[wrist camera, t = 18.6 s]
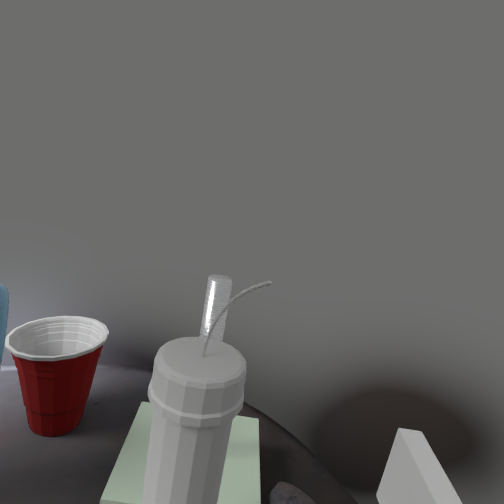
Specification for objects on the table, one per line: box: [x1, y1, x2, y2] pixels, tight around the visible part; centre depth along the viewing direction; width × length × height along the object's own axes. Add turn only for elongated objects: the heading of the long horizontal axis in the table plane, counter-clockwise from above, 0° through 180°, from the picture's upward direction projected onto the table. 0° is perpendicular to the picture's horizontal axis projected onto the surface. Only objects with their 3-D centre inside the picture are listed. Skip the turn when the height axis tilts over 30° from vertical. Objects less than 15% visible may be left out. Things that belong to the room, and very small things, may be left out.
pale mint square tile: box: [100, 401, 261, 504], centre depth 43 cm, size 14×14×2 cm
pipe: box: [141, 280, 273, 504], centre depth 26 cm, size 6×6×30 cm
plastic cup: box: [5, 316, 109, 437], centre depth 49 cm, size 11×11×12 cm
